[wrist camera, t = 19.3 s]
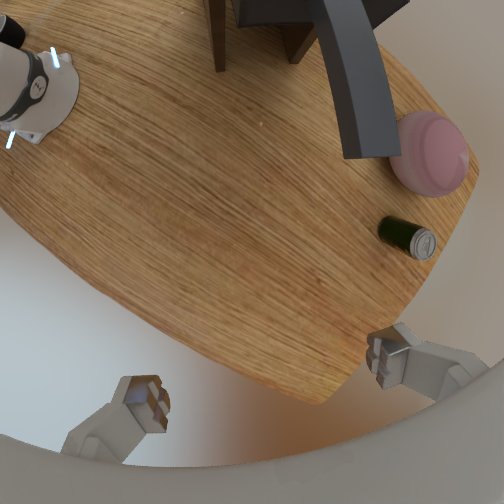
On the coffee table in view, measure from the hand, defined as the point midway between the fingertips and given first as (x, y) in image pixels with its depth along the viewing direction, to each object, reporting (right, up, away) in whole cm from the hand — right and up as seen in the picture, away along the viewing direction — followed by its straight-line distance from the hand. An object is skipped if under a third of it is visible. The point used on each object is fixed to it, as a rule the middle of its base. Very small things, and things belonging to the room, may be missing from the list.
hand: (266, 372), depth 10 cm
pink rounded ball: (+28, +23, +35) cm, 50 cm away
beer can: (+25, +9, +39) cm, 47 cm away
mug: (-56, +51, +19) cm, 78 cm away
